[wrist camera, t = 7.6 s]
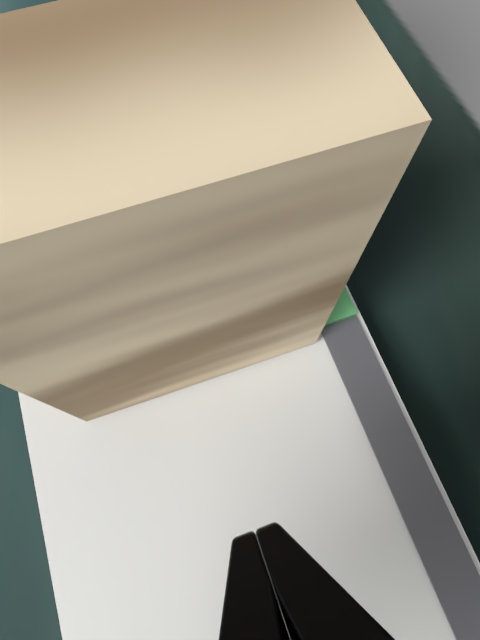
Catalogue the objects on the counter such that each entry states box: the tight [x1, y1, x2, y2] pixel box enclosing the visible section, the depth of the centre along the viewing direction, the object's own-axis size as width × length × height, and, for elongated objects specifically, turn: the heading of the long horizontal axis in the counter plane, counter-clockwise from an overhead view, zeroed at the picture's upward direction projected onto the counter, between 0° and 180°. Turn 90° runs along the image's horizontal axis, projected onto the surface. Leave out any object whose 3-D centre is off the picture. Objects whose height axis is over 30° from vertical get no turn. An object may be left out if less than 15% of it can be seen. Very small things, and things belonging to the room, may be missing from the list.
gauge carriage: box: [0, 0, 432, 422], centre depth 11 cm, size 4×10×10 cm, turn 109°
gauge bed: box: [18, 285, 480, 640], centre depth 15 cm, size 23×12×1 cm, turn 19°
